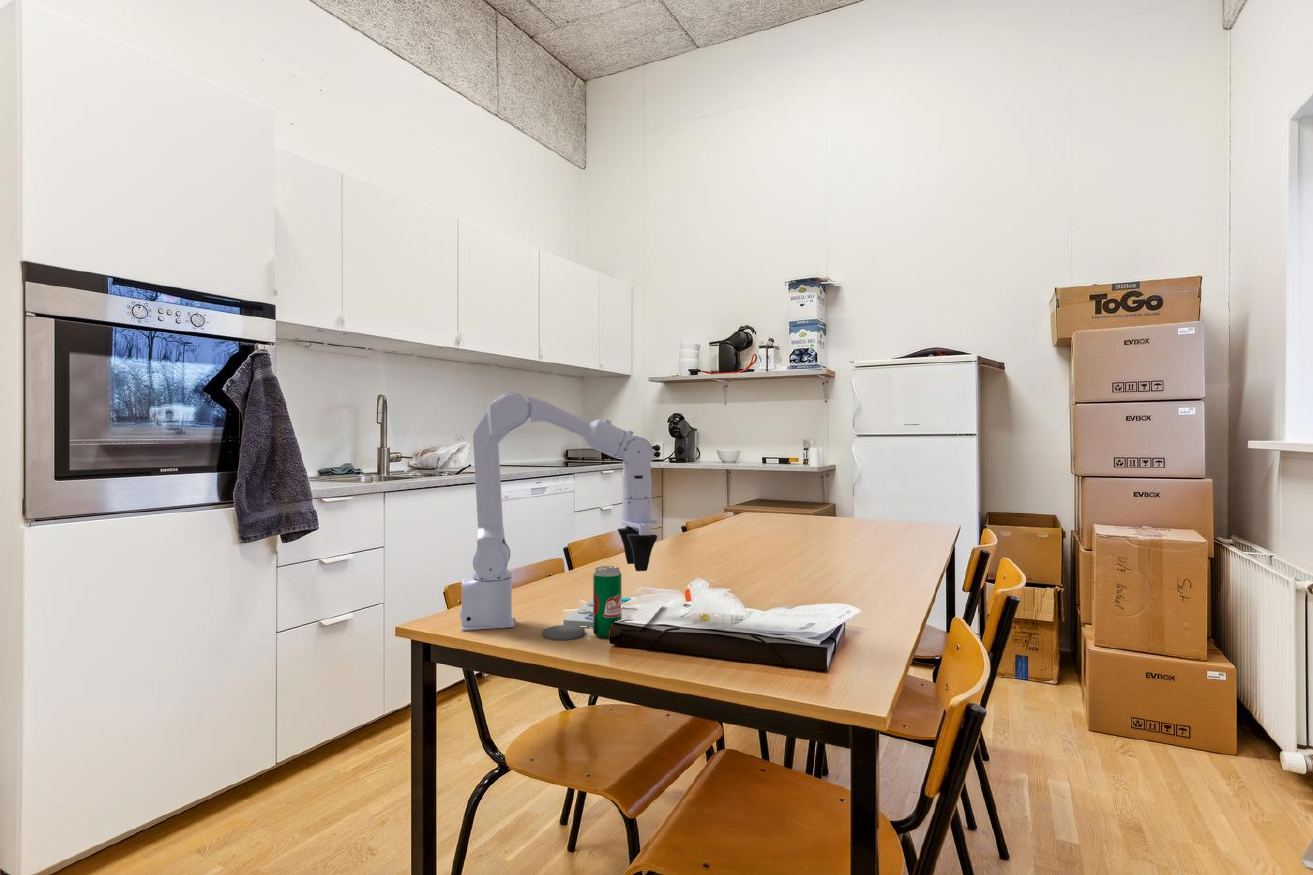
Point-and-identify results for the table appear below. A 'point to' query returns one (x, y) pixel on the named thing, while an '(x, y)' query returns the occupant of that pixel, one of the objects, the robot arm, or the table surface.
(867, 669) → the table surface
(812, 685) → the table surface
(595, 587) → the soda can
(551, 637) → the rubber mat
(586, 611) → the electronic device
